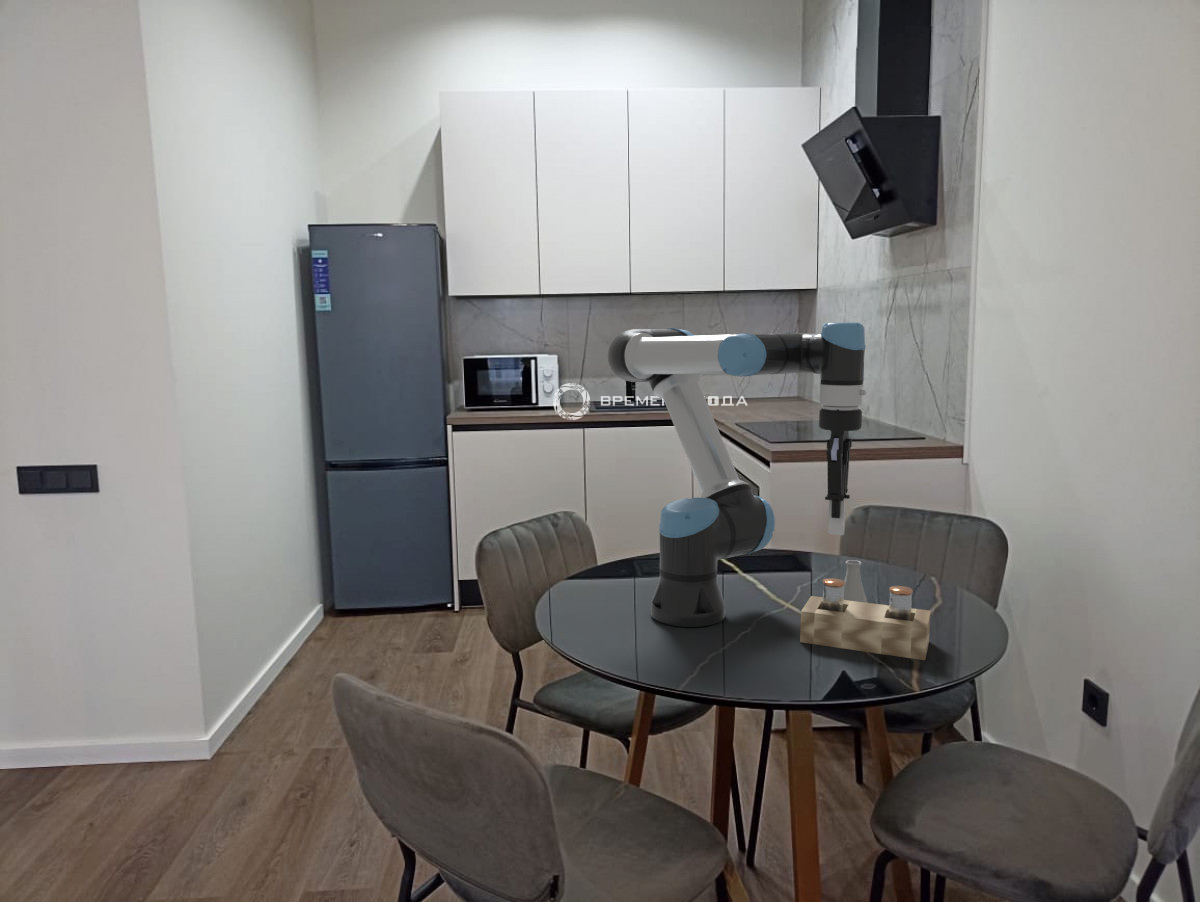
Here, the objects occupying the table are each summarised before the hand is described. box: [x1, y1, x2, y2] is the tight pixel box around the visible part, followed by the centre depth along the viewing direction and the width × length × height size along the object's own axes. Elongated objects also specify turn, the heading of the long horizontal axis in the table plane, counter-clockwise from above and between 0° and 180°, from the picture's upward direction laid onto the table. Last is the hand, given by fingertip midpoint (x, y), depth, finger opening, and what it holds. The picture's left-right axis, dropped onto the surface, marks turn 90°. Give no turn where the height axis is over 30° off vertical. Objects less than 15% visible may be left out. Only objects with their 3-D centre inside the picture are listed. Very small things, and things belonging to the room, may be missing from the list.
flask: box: [843, 559, 869, 603], centre depth 181 cm, size 7×7×10 cm
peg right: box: [888, 585, 914, 621], centre depth 159 cm, size 4×4×6 cm
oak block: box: [799, 595, 932, 661], centre depth 162 cm, size 22×10×6 cm, turn 66°
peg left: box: [822, 577, 845, 612], centre depth 163 cm, size 4×4×6 cm
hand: (836, 533), depth 162 cm, fingers closed
